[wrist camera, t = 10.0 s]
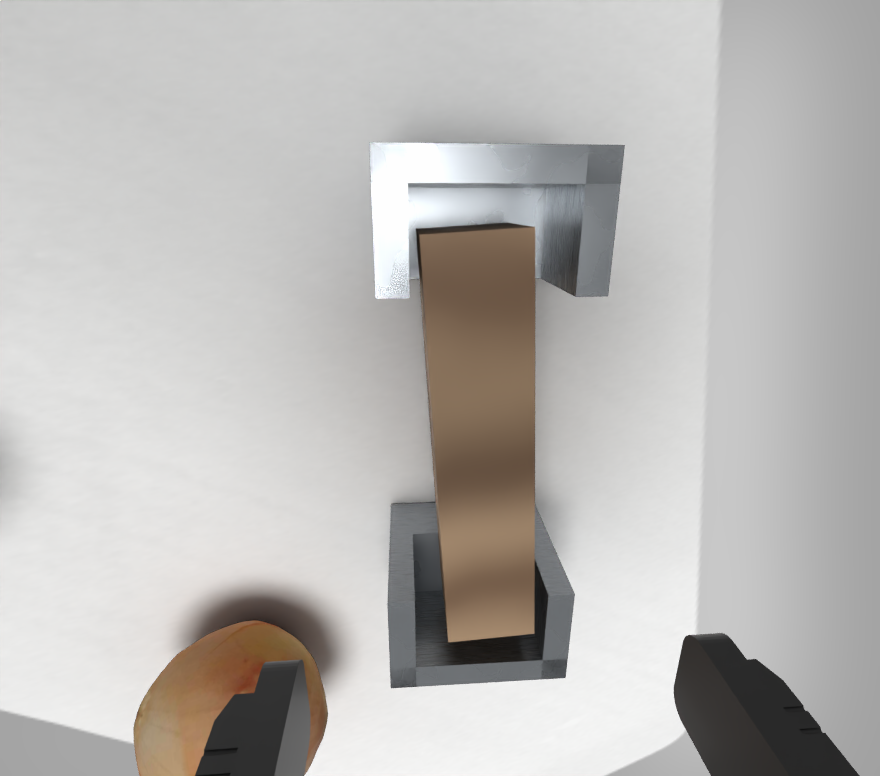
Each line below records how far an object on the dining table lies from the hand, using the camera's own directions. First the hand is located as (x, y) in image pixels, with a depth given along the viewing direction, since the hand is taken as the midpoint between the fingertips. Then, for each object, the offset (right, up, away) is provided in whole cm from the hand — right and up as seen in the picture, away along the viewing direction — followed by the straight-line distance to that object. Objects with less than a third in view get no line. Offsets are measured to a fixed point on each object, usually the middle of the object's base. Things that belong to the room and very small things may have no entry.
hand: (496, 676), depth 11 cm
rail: (0, +5, +15) cm, 15 cm away
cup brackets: (0, +6, +17) cm, 18 cm away
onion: (-13, -11, +23) cm, 28 cm away
